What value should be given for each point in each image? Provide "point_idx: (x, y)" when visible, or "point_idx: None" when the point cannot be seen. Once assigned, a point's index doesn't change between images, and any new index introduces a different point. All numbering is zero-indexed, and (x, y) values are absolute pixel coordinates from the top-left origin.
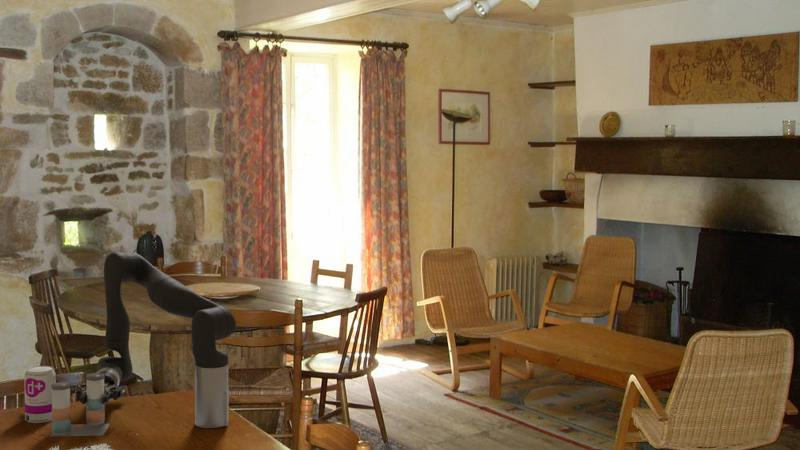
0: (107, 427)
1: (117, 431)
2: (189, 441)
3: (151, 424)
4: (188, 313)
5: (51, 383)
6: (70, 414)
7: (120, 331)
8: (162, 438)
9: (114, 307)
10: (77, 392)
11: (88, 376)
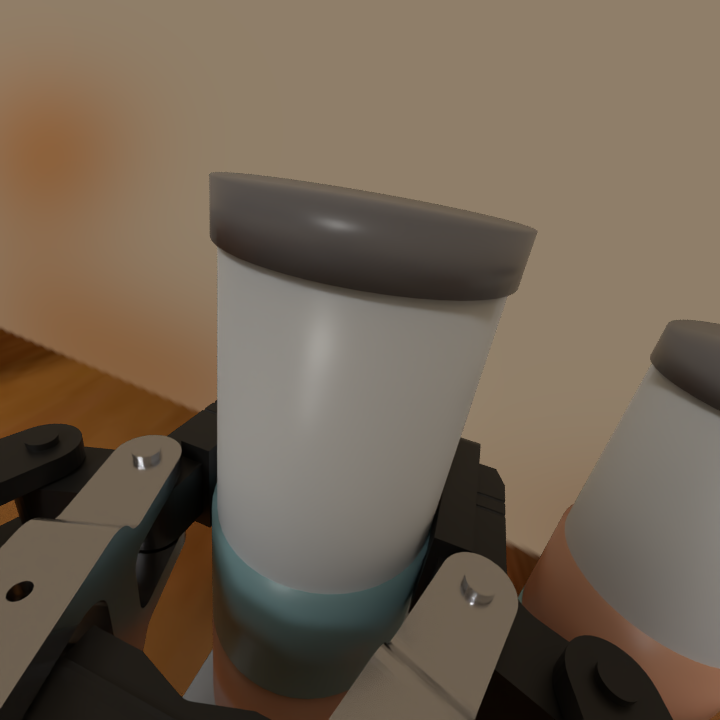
0: (201, 670)
1: (167, 597)
2: (34, 359)
3: None
4: None
5: None
6: (533, 587)
7: None
8: (75, 411)
9: None
10: (609, 651)
11: (481, 216)
